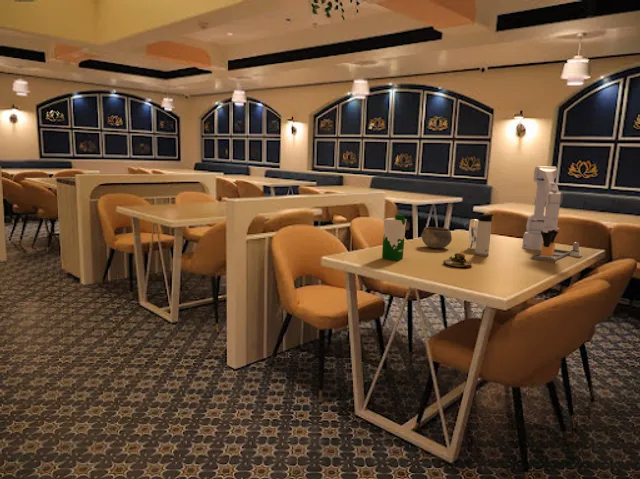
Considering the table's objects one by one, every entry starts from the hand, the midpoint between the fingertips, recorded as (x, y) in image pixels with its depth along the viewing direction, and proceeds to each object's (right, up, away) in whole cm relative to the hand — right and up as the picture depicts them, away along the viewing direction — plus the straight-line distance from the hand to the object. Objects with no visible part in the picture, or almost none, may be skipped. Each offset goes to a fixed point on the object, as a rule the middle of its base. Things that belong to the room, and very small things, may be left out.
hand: (548, 246), depth 236 cm
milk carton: (-76, -6, -14) cm, 78 cm away
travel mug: (-30, -5, +5) cm, 31 cm away
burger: (-49, -9, -22) cm, 55 cm away
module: (0, -4, +1) cm, 4 cm away
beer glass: (-28, -2, +22) cm, 36 cm away
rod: (+18, -5, +11) cm, 22 cm away
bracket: (+18, -5, +11) cm, 22 cm away
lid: (0, -6, +1) cm, 6 cm away
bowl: (-49, -1, +19) cm, 52 cm away
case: (+9, -5, +12) cm, 16 cm away
